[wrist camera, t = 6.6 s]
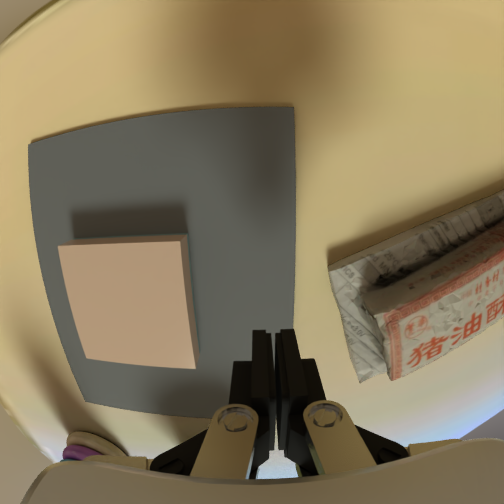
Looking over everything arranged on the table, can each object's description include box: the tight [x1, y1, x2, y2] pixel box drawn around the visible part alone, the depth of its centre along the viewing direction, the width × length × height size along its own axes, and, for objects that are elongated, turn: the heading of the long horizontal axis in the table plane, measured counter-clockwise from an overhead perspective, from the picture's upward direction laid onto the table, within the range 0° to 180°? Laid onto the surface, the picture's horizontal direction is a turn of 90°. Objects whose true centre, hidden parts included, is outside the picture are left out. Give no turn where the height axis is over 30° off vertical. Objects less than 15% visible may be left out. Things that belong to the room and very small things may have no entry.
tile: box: [58, 233, 200, 369], centre depth 17 cm, size 2×8×8 cm
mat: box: [28, 107, 296, 418], centre depth 18 cm, size 18×22×1 cm
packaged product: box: [328, 189, 504, 383], centre depth 16 cm, size 18×5×10 cm
